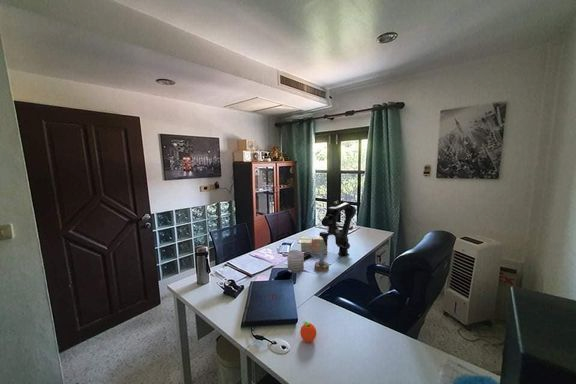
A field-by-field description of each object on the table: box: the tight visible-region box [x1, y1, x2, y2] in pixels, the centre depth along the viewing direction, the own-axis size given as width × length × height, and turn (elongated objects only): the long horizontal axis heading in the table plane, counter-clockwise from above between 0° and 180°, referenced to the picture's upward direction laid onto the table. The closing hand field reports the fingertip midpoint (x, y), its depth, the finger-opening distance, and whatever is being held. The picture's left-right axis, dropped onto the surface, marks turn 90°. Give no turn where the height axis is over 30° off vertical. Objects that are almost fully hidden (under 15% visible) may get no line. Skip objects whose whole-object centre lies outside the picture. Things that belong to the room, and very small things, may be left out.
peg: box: [319, 250, 325, 266], centre depth 160 cm, size 3×3×12 cm
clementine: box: [299, 321, 317, 343], centre depth 98 cm, size 8×7×7 cm
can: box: [286, 249, 305, 274], centre depth 160 cm, size 11×11×12 cm
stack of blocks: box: [300, 236, 328, 255], centre depth 189 cm, size 21×6×12 cm, turn 85°
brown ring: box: [314, 260, 330, 273], centre depth 161 cm, size 10×10×3 cm
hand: (331, 245), depth 169 cm, fingers open, 9 cm apart
